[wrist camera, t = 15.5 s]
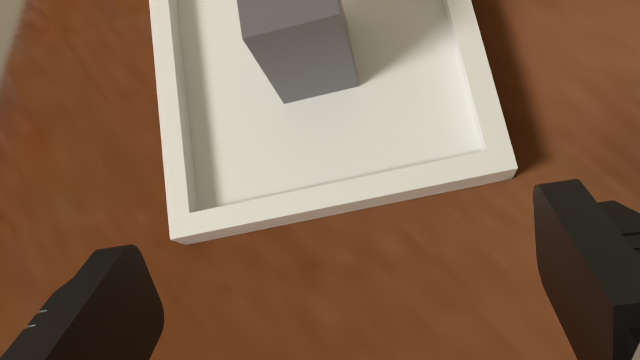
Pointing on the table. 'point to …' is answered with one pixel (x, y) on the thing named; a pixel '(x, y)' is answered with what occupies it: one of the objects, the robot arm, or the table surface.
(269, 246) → the table surface
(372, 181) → the parts tray
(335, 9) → the plug
